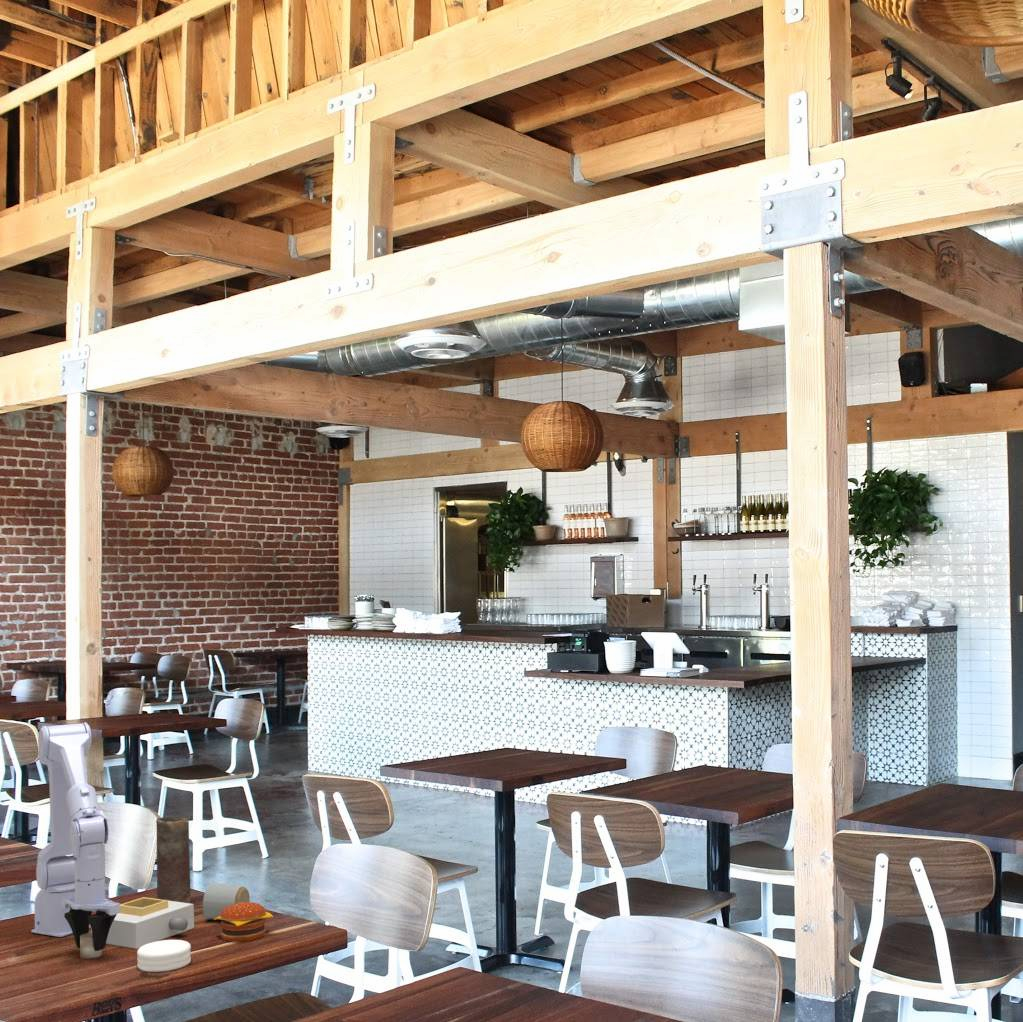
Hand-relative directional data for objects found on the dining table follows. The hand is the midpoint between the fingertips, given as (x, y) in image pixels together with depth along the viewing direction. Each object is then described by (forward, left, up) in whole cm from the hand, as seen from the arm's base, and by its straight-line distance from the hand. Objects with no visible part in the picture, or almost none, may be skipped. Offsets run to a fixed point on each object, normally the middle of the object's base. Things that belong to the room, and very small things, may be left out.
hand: (90, 948), depth 241 cm
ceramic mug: (+6, +33, -2) cm, 33 cm away
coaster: (+18, +2, -2) cm, 18 cm away
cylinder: (0, 0, -2) cm, 2 cm away
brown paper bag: (-12, +34, -2) cm, 36 cm away
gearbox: (0, +15, -1) cm, 15 cm away
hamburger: (+19, +23, -2) cm, 30 cm away
